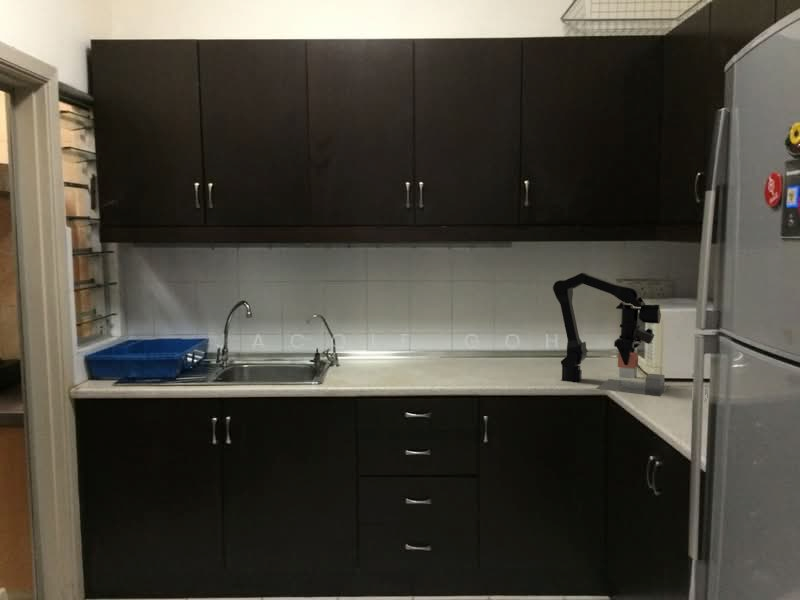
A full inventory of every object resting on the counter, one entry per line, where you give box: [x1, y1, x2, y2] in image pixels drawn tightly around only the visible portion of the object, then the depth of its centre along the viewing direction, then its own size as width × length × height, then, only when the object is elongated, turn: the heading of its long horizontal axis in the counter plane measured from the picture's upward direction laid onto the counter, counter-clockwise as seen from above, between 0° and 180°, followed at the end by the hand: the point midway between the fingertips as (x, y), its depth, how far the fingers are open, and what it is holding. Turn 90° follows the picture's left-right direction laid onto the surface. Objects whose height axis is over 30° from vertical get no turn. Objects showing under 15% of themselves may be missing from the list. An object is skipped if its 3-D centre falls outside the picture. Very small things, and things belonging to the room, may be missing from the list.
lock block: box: [617, 352, 639, 369], centre depth 234 cm, size 6×5×5 cm
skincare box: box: [618, 347, 638, 379], centre depth 253 cm, size 6×4×12 cm
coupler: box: [595, 372, 671, 397], centre depth 234 cm, size 22×20×6 cm
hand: (627, 363), depth 234 cm, fingers closed on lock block, 5 cm apart
